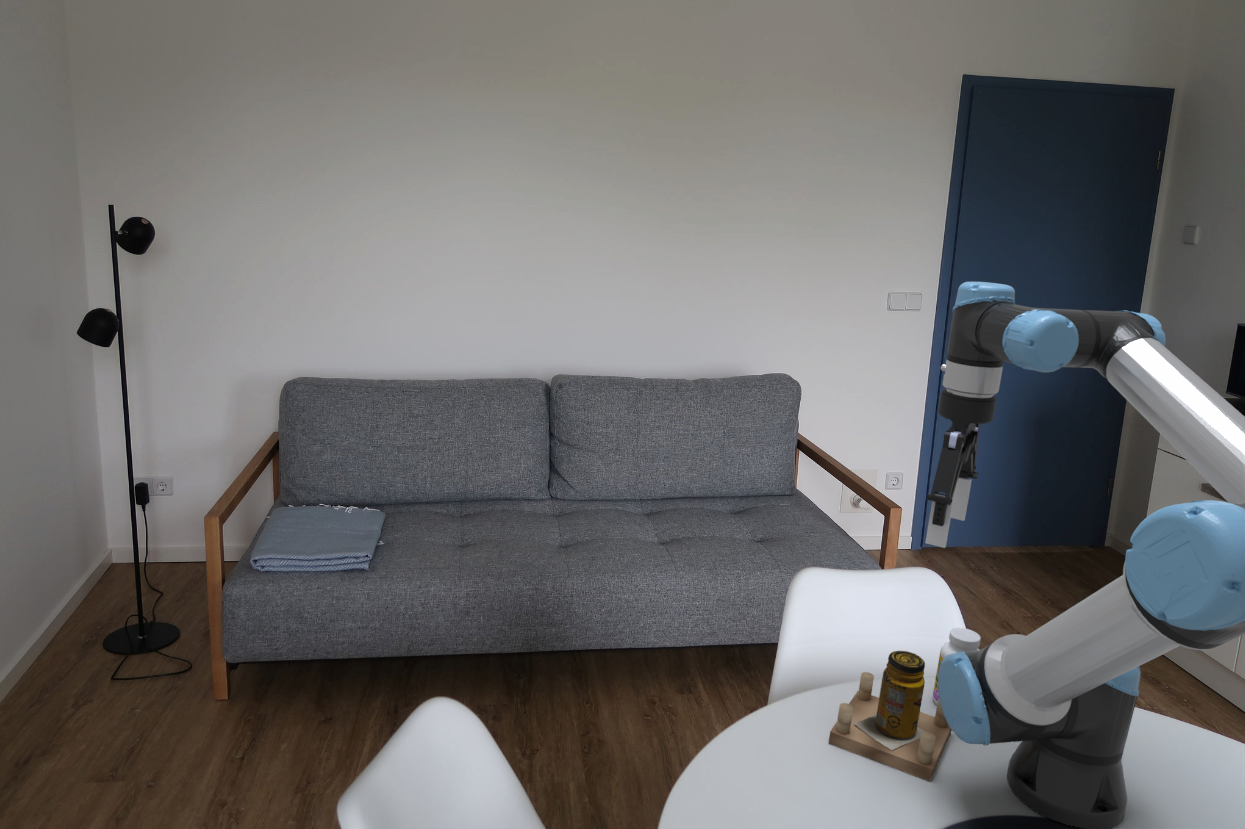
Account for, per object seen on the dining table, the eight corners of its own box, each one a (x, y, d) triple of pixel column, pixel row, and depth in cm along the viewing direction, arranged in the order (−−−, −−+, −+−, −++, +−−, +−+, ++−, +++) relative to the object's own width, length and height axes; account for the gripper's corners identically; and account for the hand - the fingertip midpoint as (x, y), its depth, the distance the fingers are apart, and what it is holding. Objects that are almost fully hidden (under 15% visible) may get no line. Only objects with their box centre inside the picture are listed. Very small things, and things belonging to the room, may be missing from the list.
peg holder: (950, 734, 138) (957, 700, 137) (930, 781, 126) (936, 744, 125) (856, 701, 145) (861, 668, 144) (828, 743, 134) (833, 708, 132)
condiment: (928, 734, 134) (940, 663, 131) (891, 751, 129) (903, 678, 126) (890, 710, 140) (901, 641, 137) (853, 725, 135) (863, 654, 132)
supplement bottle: (936, 689, 151) (948, 620, 148) (977, 702, 148) (990, 632, 144) (928, 707, 145) (940, 636, 142) (970, 721, 142) (984, 649, 139)
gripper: (959, 374, 139) (938, 502, 144) (921, 402, 118) (898, 550, 123) (1010, 382, 135) (987, 513, 140) (980, 412, 114) (954, 564, 119)
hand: (945, 531), depth 132 cm, fingers open, 13 cm apart
